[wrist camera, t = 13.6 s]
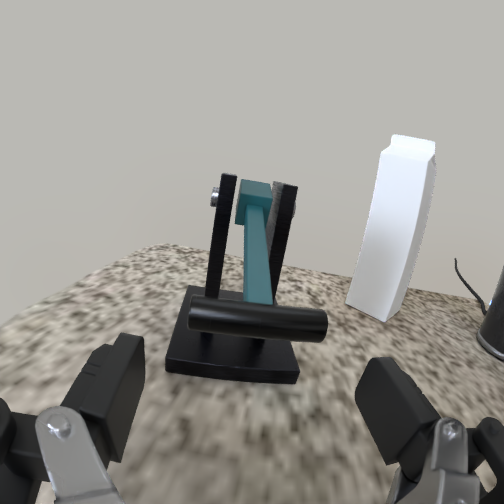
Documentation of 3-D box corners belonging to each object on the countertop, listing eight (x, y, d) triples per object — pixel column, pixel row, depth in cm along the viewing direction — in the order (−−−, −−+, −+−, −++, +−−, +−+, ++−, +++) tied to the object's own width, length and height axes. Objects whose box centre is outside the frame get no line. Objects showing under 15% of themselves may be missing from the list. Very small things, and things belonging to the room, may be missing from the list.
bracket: (295, 384, 18) (349, 199, 14) (165, 371, 17) (180, 169, 13) (272, 307, 29) (298, 185, 26) (187, 295, 28) (203, 169, 25)
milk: (384, 323, 29) (432, 134, 23) (343, 303, 33) (383, 126, 27) (399, 310, 33) (440, 148, 27) (363, 294, 37) (398, 140, 31)
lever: (314, 355, 11) (336, 320, 10) (186, 343, 11) (187, 303, 9) (283, 214, 22) (291, 187, 21) (215, 203, 22) (219, 175, 20)
